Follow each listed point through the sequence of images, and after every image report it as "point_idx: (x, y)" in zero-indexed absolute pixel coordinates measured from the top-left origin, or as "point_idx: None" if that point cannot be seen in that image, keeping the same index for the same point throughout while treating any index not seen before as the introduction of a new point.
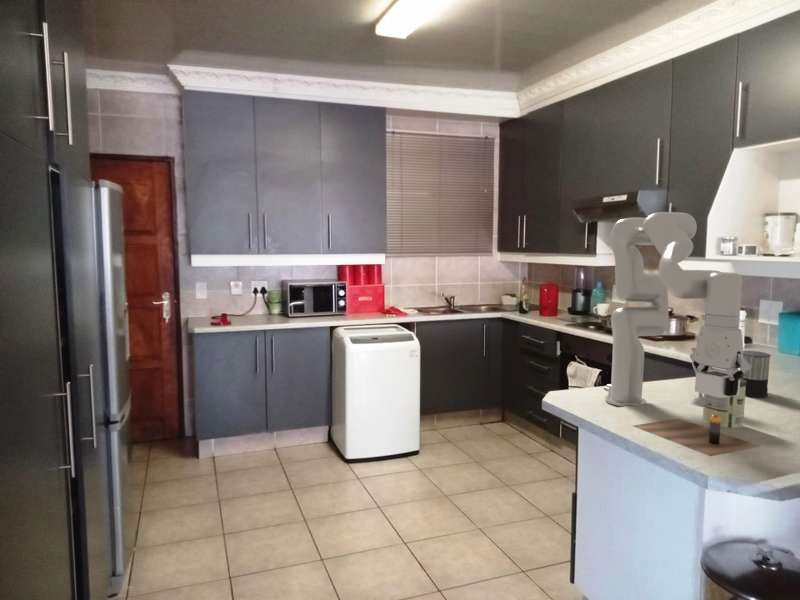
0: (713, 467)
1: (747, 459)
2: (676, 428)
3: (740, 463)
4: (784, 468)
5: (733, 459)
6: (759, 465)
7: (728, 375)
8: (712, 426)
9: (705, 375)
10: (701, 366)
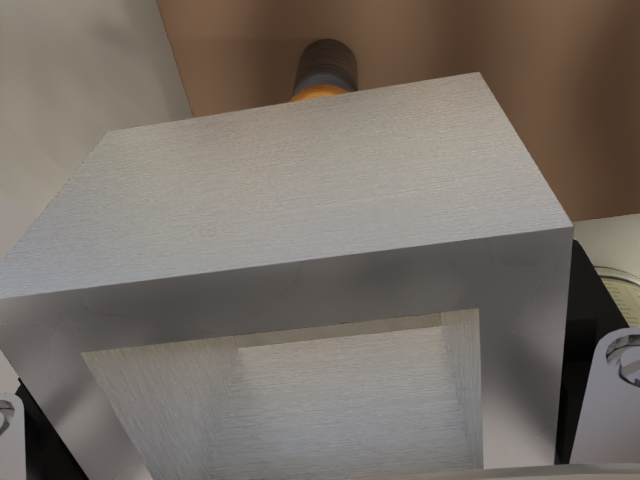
0: None
1: (155, 112)
2: (629, 32)
3: (99, 26)
4: (40, 186)
5: (158, 36)
6: (73, 105)
7: (16, 451)
8: (313, 78)
9: (318, 241)
10: (618, 450)
